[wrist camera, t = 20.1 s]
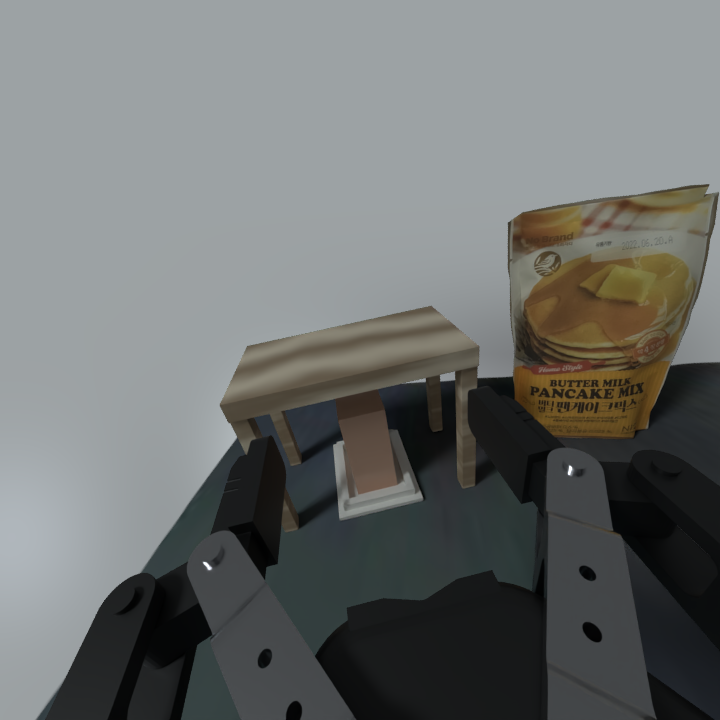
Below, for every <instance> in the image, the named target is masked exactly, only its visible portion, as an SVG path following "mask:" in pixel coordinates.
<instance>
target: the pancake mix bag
mask: <svg viewBox="0 0 720 720" xmlns="http://www.w3.org/2000/svg"><path fill="white" fill-rule="evenodd" d="M708 187H709V184H706V185H690V186H685V187H679V188H674V189H667V190H661V191H654V192H649V193H644V194H639V195H630V196H620V197H608V198H600V199H593V200H587V201H581V202H576V203H570V204H563V205H557V206H552V207H547V208H542V209H537V210H532V211H528V212H523V213H521V214H520V215H518V216H517V217H516V218H514V219H513V220H511V221H510V222H508V272H509V277H510V313H511V315H510V316H511V328H512V335H513V342H514V349H515V350H514V370H513V380H514V386H515V400H516V401H518V402H519V403H520V404H521V405H522V406H523V407H524V408H525V409H526V410H527V412H529V413H530V414H531V415H532V416H533V417H534V419H535V420H537V421H538V422H540V423H541V424H542V425H543V426H544V427H545V428H546V429H547V430H548V431H549V432H550V433H551V434H552V435H553V436H554V437H565V438H603V439H631V438H634V434H635V431H636V430H642V429H648V425H649V417H650V412H651V410H652V408H653V406H654V405H655V403H656V400H657V398H658V396H659V393H660V391H661V389H662V387H663V385H664V382H665V379H666V376H667V373H668V370H669V368H670V365H671V363H672V360H673V358H674V356H675V354H676V352H677V350H678V347H679V345H680V342H681V340H682V337H683V335H684V333H685V330H686V328H687V326H688V324H689V320H690V316H691V312H692V309H693V307H694V305H695V302H696V300H697V298H698V294H699V290H700V287H701V283H702V279H703V275H704V270H705V266H706V261H707V256H708V250H709V244H710V238H711V235H712V231H713V228H714V225H715V218H716V210H717V202H718V196H719V192H717V193H712V194H706V195H705V193H706V191H707V189H708Z"/></svg>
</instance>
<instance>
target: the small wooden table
mask: <svg viewBox="0 0 720 720" xmlns="http://www.w3.org/2000/svg"><path fill="white" fill-rule="evenodd" d="M478 366H479V346H478V345H477V344H476V343H474V341H472V340H471V339H470V338H469V337H468V336H466V335H465V334H464V333H463V332H462V331H460V330H459V329H458V328H457V327H456V326H455V325H453V324H452V323H451V322H450V321H449V320H447V319H446V318H445V317H444V316H443V315H442V314H440V313H439V312H438V311H437V310H436V309H434V308H433V307H432V306H428V307H424V308H420V309H415V310H410V311H406V312H401V313H396V314H392V315H387V316H383V317H378V318H374V319H369V320H364V321H360V322H355V323H351V324H346V325H342V326H337V327H332V328H328V329H324V330H319V331H314V332H310V333H305V334H301V335H296V336H292V337H287V338H282V339H278V340H273V341H269V342H265V343H260V344H255V345H251V346H247V348H246V350H245V352H244V354H243V356H242V358H241V361H240V363H239V365H238V367H237V369H236V371H235V374H234V376H233V378H232V380H231V382H230V384H229V386H228V388H227V391H226V393H225V395H224V397H223V399H222V401H221V403H220V407H221V409H222V411H223V413H224V415H225V417H226V419H227V421H228V422H229V423H231V425H232V427H233V429H234V431H235V433H236V435H237V437H238V439H239V441H240V443H241V445H242V447H243V449H244V451H245V453H246V455H247V453H248V449H249V445H250V442H251V440H254V439H258V438H262V434H261V432H260V430H259V428H258V426H257V423H256V421H255V419H254V417H258V416H262V415H267V414H270V416H271V418H272V421H273V423H274V426H275V428H276V430H277V433H278V435H279V438H280V440H281V442H282V445H283V447H284V450H285V452H286V455H287V457H288V459H289V462H290V464H291V466H293V465H297V464H301V459H302V456H301V453H300V450H299V448H298V445H297V442H296V440H295V437H294V435H293V432H292V429H291V427H290V424H289V421H288V419H287V416H286V413H285V411H284V410H288V409H293V408H297V407H301V406H306V405H310V404H314V403H319V402H323V401H328V400H332V399H336V398H341V397H345V396H349V395H354V394H358V393H362V392H367V391H371V390H375V389H380V388H384V387H389V386H393V385H397V384H402V383H406V382H410V381H414V380H419V379H423V378H426V388H427V400H428V413H429V426H430V428H431V429H432V431H433V432H436V431H440V430H443V426H442V407H441V388H440V375H441V374H445V373H450V372H454V371H455V384H456V430H457V476H458V480H459V482H460V484H461V486H462V488H463V489H464V488H468V487H472V486H475V462H476V438H475V437H474V436H473V434H472V432H471V430H470V428H469V424H468V391H469V390H471V389H475V388H477V367H478ZM282 526H283V528H284V530H285V532H290V531H294V530H298V526H299V517H298V514H297V512H296V510H295V508H294V505H293V503H292V501H291V499H290V497H289V494H288V492H287V490H286V488H285V493H284V504H283V514H282Z"/></svg>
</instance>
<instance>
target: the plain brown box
mask: <svg viewBox="0 0 720 720" xmlns="http://www.w3.org/2000/svg"><path fill="white" fill-rule="evenodd" d="M335 400H336V407H337V415H338V422H339V425H340V429H341V433H342V436H343V440H344V444H345V447H346V451H347V455H348V458H349V462H350V466H351V469H352V473H353V477H354V480H355V484H356V488H357V491H358V495H359V494H363V493H367V492H371V491H375V490H379V489H383V488H387V487H391V486H395V485H398V484H397V478H396V472H395V467H394V461H393V455H392V449H391V443H390V437H389V431H388V425H387V420H386V414H385V409H384V406H383V403H382V401H381V398H380V395H379V392H378V390H377V389H375V390H371V391H367V392H362V393H358V394H354V395H349V396H345V397H341V398H336V399H335Z"/></svg>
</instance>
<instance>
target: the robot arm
mask: <svg viewBox="0 0 720 720" xmlns="http://www.w3.org/2000/svg"><path fill="white" fill-rule="evenodd" d="M468 424H469V428H470V430H471V432H472V434H473V436H474V437H475V438H476V440H477V441H478V443H479V444H480V446H481V447H482V448H483V450H484V451H485V453H486V454H487V456H488V457H489V458H490V460H491V461H492V463H493V464H494V466H495V467H496V468H497V470H498V471H499V473H500V474H501V476H502V477H503V478H504V480H505V481H506V483H507V484H508V486H509V487H510V488H511V490H512V491H513V493H514V494H515V496H516V497H517V498H518V500H519V501H520V503H521V504H523V503H527V502H531V501H533V502H534V503H535V505H536V506H537V507H538V511H537V525H536V545H535V565H534V575H533V583H532V591H530V590H528V589H526V588H523V587H520V586H517V585H514V584H510V583H505V582H498V581H497V579H496V577H495V575H494V573H493V571H492V570H490V571H487V572H483V573H479V574H475V575H471V576H467V577H463V578H460V579H456V580H455V581H453V582H452V583H450V584H449V585H447V586H446V587H444V588H443V589H441V590H439V591H438V592H436V593H435V594H433V595H432V596H430V597H429V598H427V599H425V600H420V601H419V600H402V599H385V598H383V599H379V600H375V601H371V602H367V603H363V604H360V605H356V606H352V607H348V608H347V614H348V621H346V622H345V623H343V624H342V625H341V626H340V627H338V628H337V629H336V630H335V631H334V632H333V633H332V634H331V635H330V636H329V637H328V638H327V639H326V641H325V642H324V643H323V645H322V646H321V647H320V649H319V650H318V652H317V654H316V655H315V656H314V655H313V653H312V652H311V650H310V648H309V647H308V645H307V644H306V642H305V641H304V639H303V638H302V636H301V635H300V633H299V632H298V630H297V629H296V627H295V626H294V624H293V623H292V621H291V620H290V618H289V617H288V615H287V613H286V612H285V610H284V609H283V607H282V606H281V604H280V603H279V601H278V600H277V598H276V597H275V595H274V594H273V592H272V591H271V589H270V588H269V586H268V585H267V583H266V582H265V574H266V567H267V566H271V565H275V564H278V554H279V544H280V534H281V524H282V514H283V504H284V493H285V483H286V470H285V465H284V462H283V459H282V457H281V455H280V452H279V450H278V448H277V445H276V443H275V441H274V438H273V437H272V436H267V437H262V438H258V439H254V440H251V442H250V445H249V449H248V453H247V455H244V456H240V457H239V458H238V460H237V461H236V462H235V464H234V465H233V466H232V468H231V470H230V474H229V477H228V480H227V481H228V483H226V486H225V490H224V493H223V496H222V499H221V503H220V506H219V509H218V512H217V515H216V519H215V522H214V525H213V528H212V531H211V534H210V536H208V537H207V538H205V539H204V540H203V541H202V542H201V543H200V544H199V545H198V546H197V547H196V548H195V550H194V551H193V553H192V554H191V556H190V558H189V561H188V562H186V563H185V564H183V565H181V566H180V567H178V568H176V569H174V570H172V571H171V572H169V573H167V574H165V575H163V576H162V577H160V578H158V579H155V578H154V577H153V576H152V575H150V574H148V573H140V574H137V575H134V576H132V577H130V578H128V579H127V580H125V581H124V582H122V583H121V584H120V585H118V587H116V588H115V589H114V590H113V591H112V592H111V593H110V595H108V597H107V598H106V599H105V600H104V602H103V603H102V605H101V607H100V608H99V610H98V612H97V614H96V616H95V618H94V620H93V623H92V625H91V627H90V629H89V631H88V633H87V635H86V637H85V639H84V641H83V643H82V645H81V647H80V649H79V651H78V653H77V655H76V657H75V659H74V662H73V664H72V666H71V668H70V670H69V672H68V674H67V676H66V678H65V680H64V682H63V684H62V686H61V688H60V690H59V692H58V694H57V697H56V699H55V701H54V703H53V705H52V707H51V709H50V711H49V713H48V715H47V717H46V719H45V720H181V716H182V712H183V707H184V703H185V698H186V693H187V689H188V684H189V680H190V675H191V671H192V666H193V662H194V657H195V652H196V648H197V645H198V644H199V643H201V642H202V641H204V640H205V639H207V638H208V637H210V636H211V635H213V636H212V637H211V639H210V641H211V646H212V649H213V652H214V654H215V657H216V659H217V662H218V664H219V666H220V669H221V671H222V674H223V676H224V679H225V681H226V684H227V686H228V689H229V691H230V693H231V696H232V698H233V701H234V703H235V706H236V708H237V711H238V713H239V716H240V718H241V720H714V719H713V718H711V717H710V716H709V715H707V714H706V713H704V712H703V711H702V710H700V709H699V708H697V707H696V706H695V705H693V704H692V703H690V702H689V701H688V700H686V699H685V698H683V697H682V696H681V695H679V694H678V693H676V692H675V691H674V690H672V689H671V688H669V687H668V686H667V685H665V684H664V683H662V682H661V681H660V680H658V679H657V678H655V677H654V676H653V675H651V674H650V673H648V672H647V671H646V666H645V660H644V654H643V649H642V643H641V638H640V632H639V626H638V621H637V615H636V610H635V604H634V599H633V593H632V587H631V582H630V576H629V571H628V565H627V559H626V554H625V548H624V543H623V540H622V538H623V539H624V540H625V541H626V543H627V544H628V545H629V546H630V547H631V548H632V550H633V551H634V552H635V553H636V554H637V555H638V557H639V558H640V559H641V560H642V561H643V562H644V564H645V565H646V566H647V567H648V568H649V569H650V570H651V572H652V573H653V574H654V575H655V576H656V577H657V579H658V580H659V581H660V582H661V583H662V584H663V586H664V587H665V588H666V589H667V590H668V591H669V593H670V594H671V595H672V596H673V597H674V598H675V599H676V601H677V602H678V603H679V604H680V605H681V606H682V608H683V609H684V610H685V611H686V612H687V613H688V615H689V616H690V617H691V618H692V619H693V620H694V622H695V623H696V624H697V625H698V626H699V627H700V628H701V630H702V631H703V632H704V633H705V634H706V635H707V637H708V638H709V639H710V640H711V641H712V642H713V644H714V645H715V646H716V647H717V648H718V649H719V651H720V486H718V485H717V484H716V483H714V482H713V481H712V480H710V479H709V478H707V477H706V476H705V475H703V474H702V473H701V472H699V471H698V470H697V469H695V468H694V467H692V466H691V465H690V464H688V463H687V462H685V461H684V460H682V459H680V458H678V457H676V456H674V455H671V454H668V453H665V452H661V451H656V450H642V451H638V452H636V453H635V454H634V455H633V457H632V459H631V461H630V463H624V462H600V461H597V460H596V459H594V458H593V457H592V456H590V455H588V454H587V453H585V452H582V451H580V450H576V449H572V448H566V447H565V446H564V445H563V444H561V443H560V442H559V441H558V440H557V439H556V438H555V437H554V436H553V435H552V434H551V433H550V432H549V431H548V430H547V429H546V428H545V427H544V426H543V425H542V424H541V423H540V422H538V421H537V420H535V419H534V417H533V416H532V415H531V414H530V413H529V412H527V410H526V409H525V408H524V407H523V406H522V405H521V404H520V403H519V402H518V401H516V400H514V399H512V398H510V397H508V396H506V395H502V396H498V395H497V394H496V393H495V392H494V390H493V389H492V388H490V387H489V386H484V387H480V388H475V389H471V390H469V391H468ZM677 525H678V526H679V527H680V528H681V529H682V530H683V531H684V532H685V533H686V534H688V535H689V536H690V537H691V538H692V539H693V540H694V541H695V542H696V543H697V544H698V545H699V546H700V547H701V548H702V549H703V550H705V551H706V552H707V553H708V555H707V554H706V553H705V552H704V551H703V550H702V549H701V548H700V547H699V546H698V545H697V544H696V543H695V542H694V541H693V540H692V539H690V538H689V537H688V536H687V535H686V534H685V533H684V532H683V531H682V530H681V529H680V528H679V527H678V526H677Z"/></svg>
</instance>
